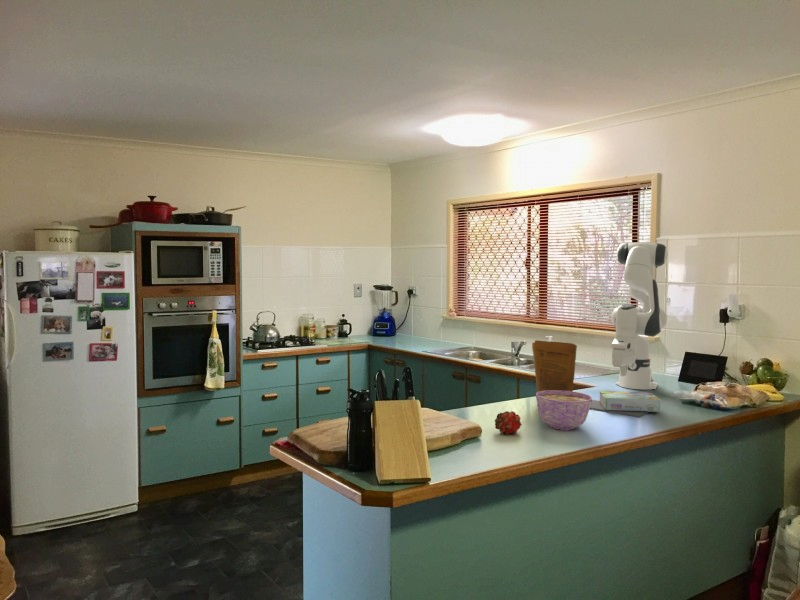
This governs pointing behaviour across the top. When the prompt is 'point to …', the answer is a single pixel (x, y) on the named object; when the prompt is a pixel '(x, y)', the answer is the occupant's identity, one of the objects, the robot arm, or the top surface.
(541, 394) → the bowl of food
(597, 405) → the charcoal rubber mat
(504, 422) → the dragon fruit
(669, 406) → the top surface
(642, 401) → the snack box
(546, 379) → the pancake mix bag
